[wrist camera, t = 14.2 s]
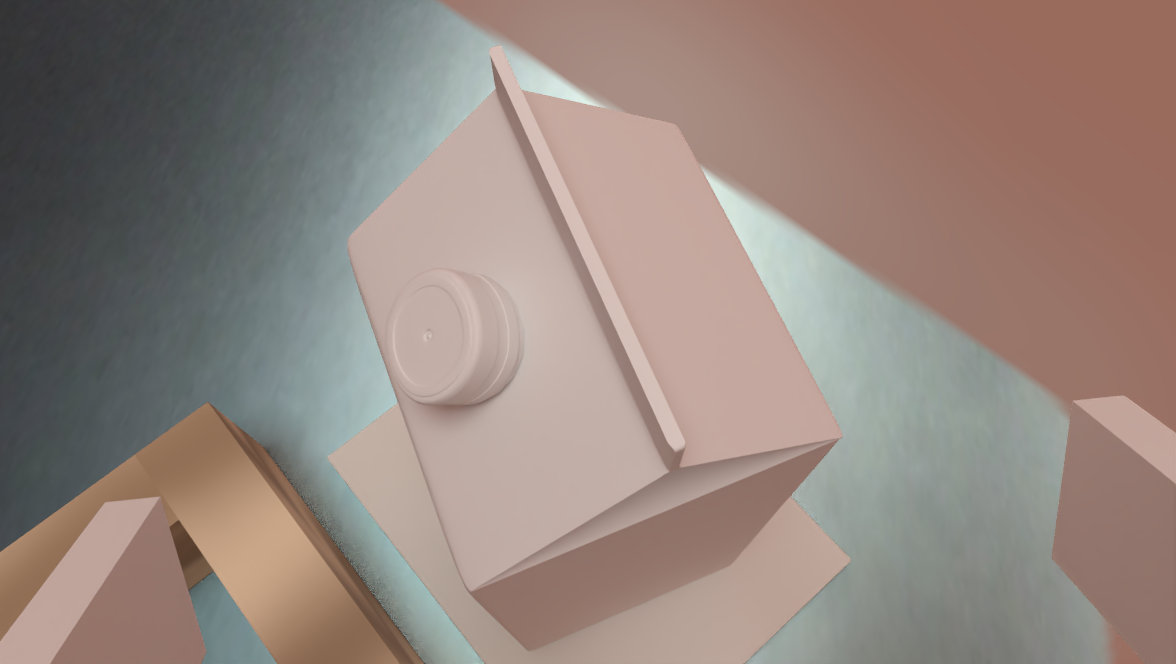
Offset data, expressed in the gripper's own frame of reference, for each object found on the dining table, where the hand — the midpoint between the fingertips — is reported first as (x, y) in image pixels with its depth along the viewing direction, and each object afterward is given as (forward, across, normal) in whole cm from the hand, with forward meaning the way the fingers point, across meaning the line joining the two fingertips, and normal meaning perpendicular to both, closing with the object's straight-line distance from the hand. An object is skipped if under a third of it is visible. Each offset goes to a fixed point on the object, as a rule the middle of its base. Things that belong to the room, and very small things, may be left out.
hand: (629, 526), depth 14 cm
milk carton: (+15, 0, -9) cm, 18 cm away
